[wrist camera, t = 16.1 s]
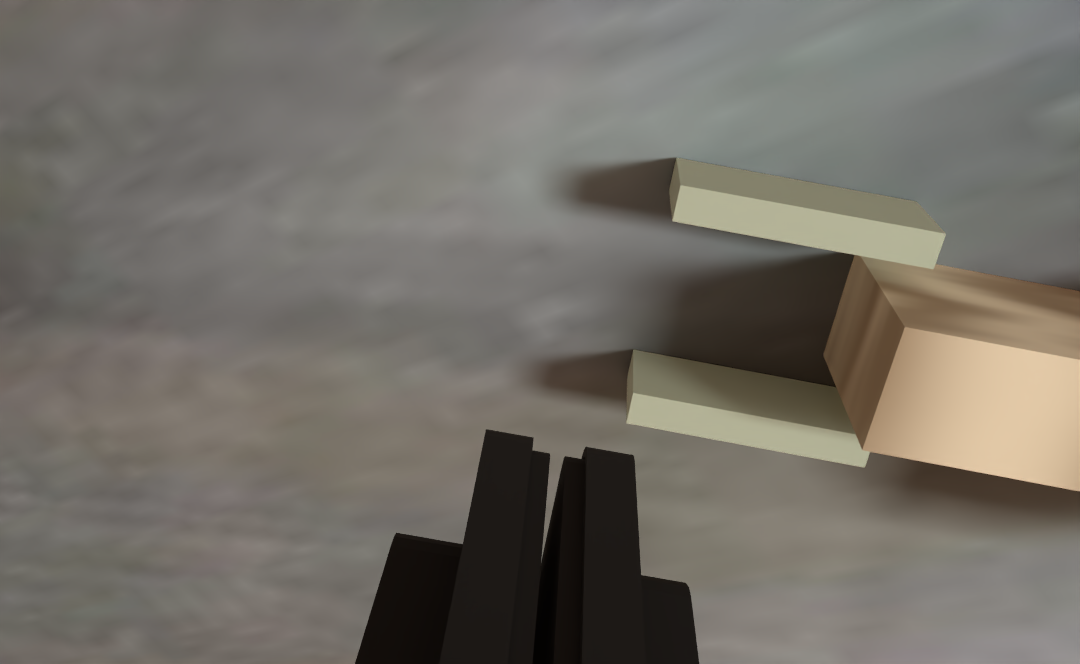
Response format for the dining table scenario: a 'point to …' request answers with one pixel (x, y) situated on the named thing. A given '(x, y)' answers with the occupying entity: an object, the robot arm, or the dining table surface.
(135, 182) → the dining table surface
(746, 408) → the cradle
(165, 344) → the dining table surface
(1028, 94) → the dining table surface
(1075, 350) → the tan rectangular block
